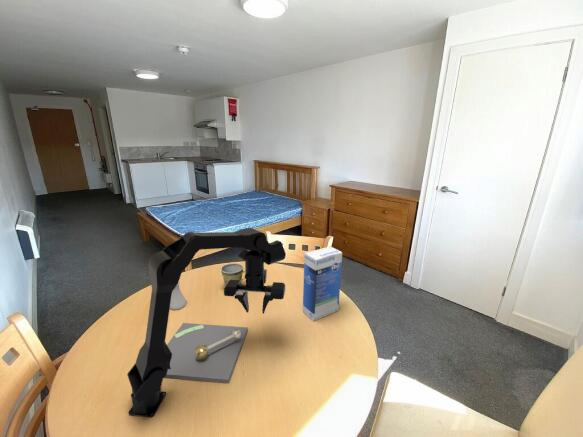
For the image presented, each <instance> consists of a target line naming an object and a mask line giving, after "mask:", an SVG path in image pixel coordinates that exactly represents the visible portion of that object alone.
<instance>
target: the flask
mask: <svg viewBox="0 0 583 437" xmlns="http://www.w3.org/2000/svg"><path fill="white" fill-rule="evenodd" d="M187 304H188V301H187V299H186V298H185V296H184V294H183V293H182V291H181V287H180V282H178V284H177V286H176V287H175V289H174V290H173V292H172V296H171V303H170V311H171V310H173V311H175V310H176V311H177V310H181V309H183V308H184V307H186V305H187Z"/></svg>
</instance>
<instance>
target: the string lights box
mask: <svg viewBox="0 0 583 437" xmlns="http://www.w3.org/2000/svg"><path fill="white" fill-rule="evenodd" d="M303 255H304V256H303V258H304V259H303V287H302V288H303V290H302V291H303V293H302V295H303V296H302V313H304V315H306V316H307V317H308V318H309V319H310V320H311V322H314V321H317V320H319V319H322V318H324V317H326V316H329V315H332V314H334V313H336V312H338V311H339V310H340V309H339V307H340V306H339V305H340V290H341V289H340V288H341V279H342V278H341V276H342V265H343V252H342V251H340V250H339V249H337V248H334V247H333V246H326V247H323V248H318V249H314V250H311V251H307V252H304V254H303Z"/></svg>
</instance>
